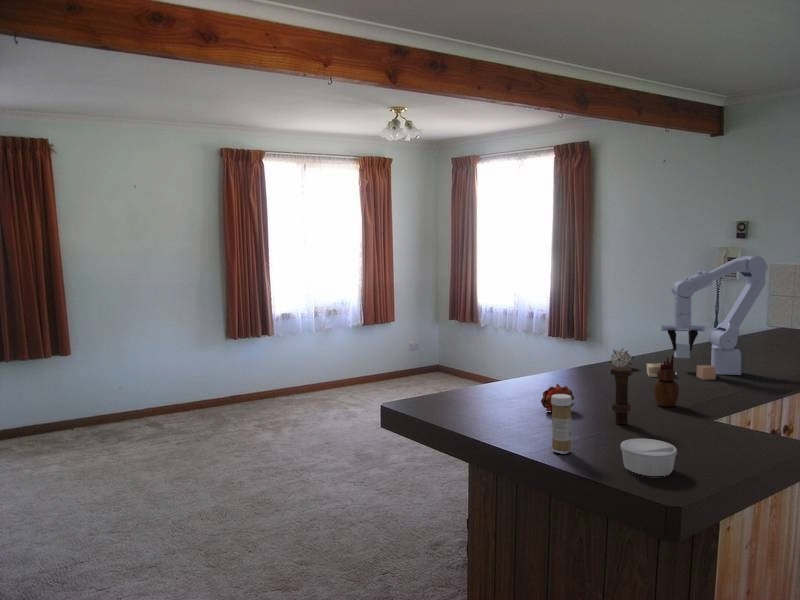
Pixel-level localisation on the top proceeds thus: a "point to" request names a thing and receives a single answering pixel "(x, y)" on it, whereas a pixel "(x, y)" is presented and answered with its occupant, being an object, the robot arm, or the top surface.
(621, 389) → the bolt
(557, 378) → the top surface
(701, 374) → the terracotta block
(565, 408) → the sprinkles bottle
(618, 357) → the game die
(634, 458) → the ramekin
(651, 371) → the maple base block
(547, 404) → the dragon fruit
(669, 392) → the wooden figurine
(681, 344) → the blue-grey block
